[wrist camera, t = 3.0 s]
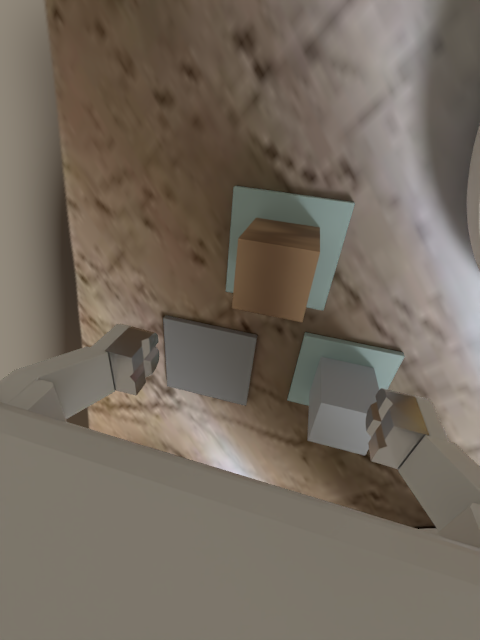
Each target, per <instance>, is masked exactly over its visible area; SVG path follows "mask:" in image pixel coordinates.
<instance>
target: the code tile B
mask: <svg viewBox="0 0 480 640" xmlns="http://www.w3.org/2000/svg"><path fill="white" fill-rule="evenodd" d="M321 357H325V358H330V359H335V360H339V361H344V362H348V363H353V364H358V365H362V366H367V367H371V368H374V370H375V374H376V378H377V382H378V386H379V390H380V389H381V388H383V389H388V387H389V385H390V383H391V381H392V379H393V378H394V376H395V374H396V372H397V370H398V368H399V366H400V364H401V362H402V360H403V359H404V357H405V356H404V354H403V352H399V351H394V350H389V349H384V348H379V347H374V346H370V345H365V344H360V343H355V342H350V341H345V340H341V339H336V338H331V337H326V336H321V335H317V334H312V333H307V332H305V334H304V338H303V342H302V346H301V349H300V353H299V357H298V361H297V364H296V368H295V372H294V376H293V379H292V383H291V387H290V391H289V394H288V400H287V401H291V402H295V403H300V404H304V405H308V406H309V392H310V389H311V386H312V383H313V380H314V377H315V373H316V370H317V367H318V364H319V361H320V358H321Z"/></svg>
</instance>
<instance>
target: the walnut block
mask: <svg viewBox="0 0 480 640" xmlns="http://www.w3.org/2000/svg"><path fill="white" fill-rule="evenodd" d="M319 255H320V227H314V226H308V225H301V224H295V223H288V222H282V221H275V220H269V219H262V218H255V219H254V220H253V222H252V223H251V224H250V225H249V226H248V228H247V229H246V230H245V231H244V232H243V233H242V235H241V236H240V237H239V238H238V246H237V257H236V268H235V279H234V290H233V301H232V308H233V309H238V310H243V311H248V312H253V313H258V314H263V315H268V316H273V317H278V318H283V319H288V320H293V321H297V322H303V318H304V314H305V310H306V306H307V302H308V298H309V294H310V290H311V286H312V282H313V278H314V274H315V270H316V266H317V263H318V259H319Z"/></svg>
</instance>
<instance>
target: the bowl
mask: <svg viewBox="0 0 480 640" xmlns="http://www.w3.org/2000/svg"><path fill="white" fill-rule="evenodd" d="M467 221H468V231H469V236H470V242H471V246H472V250H473V254H474V257H475V260H476V263H477V265H478V268H479V270H480V124H479V128H478V131H477V135H476V139H475V143H474V147H473V152H472V157H471V162H470V169H469V176H468V186H467Z"/></svg>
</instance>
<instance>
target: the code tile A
mask: <svg viewBox="0 0 480 640" xmlns="http://www.w3.org/2000/svg"><path fill="white" fill-rule="evenodd" d="M354 205H355V203H354V202H350V201H343V200H336V199H329V198H321V197H314V196H307V195H300V194H293V193H285V192H278V191H271V190H264V189H257V188H249V187H242V186H234V188H233V202H232V215H231V228H230V241H229V255H228V268H227V281H226V292H230V293H233V290H234V279H235V268H236V257H237V246H238V238H239V237H240V236H241V235H242V233H243V232H244V231H245V230H246V229H247V228H248V226H249V225H250V224H251V223H252V222H253V220H254V219H255V218H262V219H269V220H275V221H282V222H288V223H295V224H301V225H308V226H314V227H320V255H319V259H318V263H317V266H316V270H315V274H314V278H313V282H312V286H311V290H310V294H309V298H308V302H307V306H306V307H307V308H312V309H318V310H324V307H325V304H326V300H327V297H328V293H329V290H330V287H331V283H332V280H333V276H334V273H335V269H336V266H337V263H338V259H339V256H340V252H341V249H342V246H343V242H344V239H345V235H346V232H347V229H348V225H349V222H350V218H351V215H352V212H353V208H354Z"/></svg>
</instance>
